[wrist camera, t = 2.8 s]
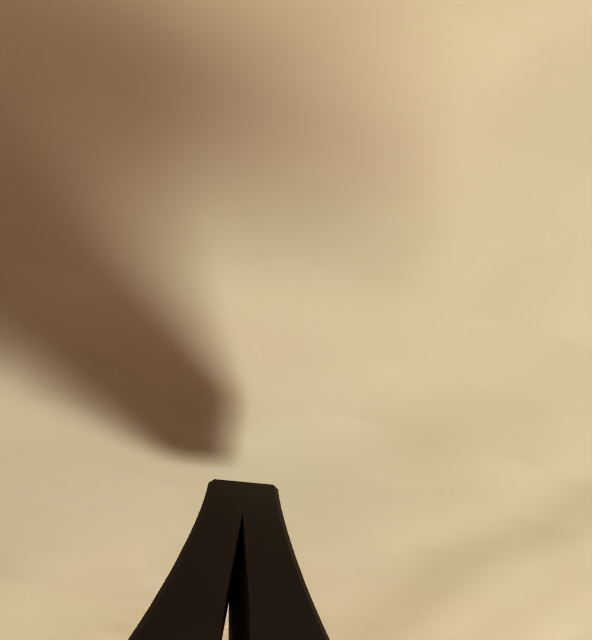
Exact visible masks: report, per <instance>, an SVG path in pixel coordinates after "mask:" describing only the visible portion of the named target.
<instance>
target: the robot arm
mask: <svg viewBox="0 0 592 640" xmlns="http://www.w3.org/2000/svg"><path fill="white" fill-rule="evenodd" d="M228 603H229V640H330V639H329V637H328V635H327V633H326V631H325V629H324V626H323V624H322V622H321V620H320V617H319V615H318V613H317V610H316V608H315V606H314V604H313V601H312V599H311V596H310V594H309V591H308V589H307V587H306V584H305V581H304V579H303V576H302V573H301V570H300V568H299V565H298V562H297V560H296V557H295V554H294V551H293V548H292V545H291V542H290V538H289V535H288V532H287V528H286V525H285V521H284V517H283V513H282V509H281V504H280V500H279V494H278V489H277V488H276V487H275V486H274V485H269V484H259V483H248V482H238V481H228V480H217V479H214V480H213V481H211V482H209V483H208V487H207V492H206V495H205V498H204V501H203V504H202V507H201V509H200V512H199V514H198V517H197V519H196V521H195V524H194V526H193V528H192V530H191V533H190V535H189V537H188V539H187V541H186V543H185V545H184V547H183V548H182V550H181V552H180V554H179V556H178V558H177V560H176V562H175V564H174V566H173V568H172V570H171V571H170V573H169V575H168V577H167V578H166V580H165V582H164V583H163V585H162V587H161V588H160V590H159V592H158V593H157V595H156V597H155V599H154V600H153V602H152V604H151V605H150V607H149V609H148V610H147V612H146V613H145V615H144V616H143V618H142V619H141V621H140V623H139V624H138V626H137V627H136V629H135V630H134V632H133V633H132V635H131V636H130V638H129V639H128V640H222V636H223V630H224V625H225V619H226V614H227V608H228Z"/></svg>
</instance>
